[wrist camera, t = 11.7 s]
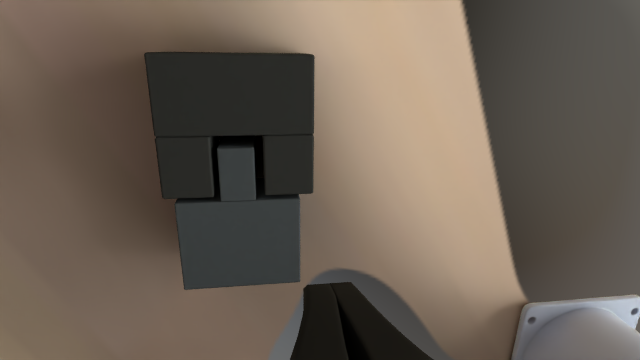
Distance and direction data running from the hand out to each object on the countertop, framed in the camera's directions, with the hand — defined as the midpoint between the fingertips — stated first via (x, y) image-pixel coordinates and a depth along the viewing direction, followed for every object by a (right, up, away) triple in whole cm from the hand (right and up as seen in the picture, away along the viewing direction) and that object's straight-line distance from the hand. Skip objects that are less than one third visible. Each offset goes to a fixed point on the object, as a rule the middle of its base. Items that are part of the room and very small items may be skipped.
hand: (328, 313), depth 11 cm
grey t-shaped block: (-4, +3, +8) cm, 9 cm away
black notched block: (-4, +7, +7) cm, 10 cm away
